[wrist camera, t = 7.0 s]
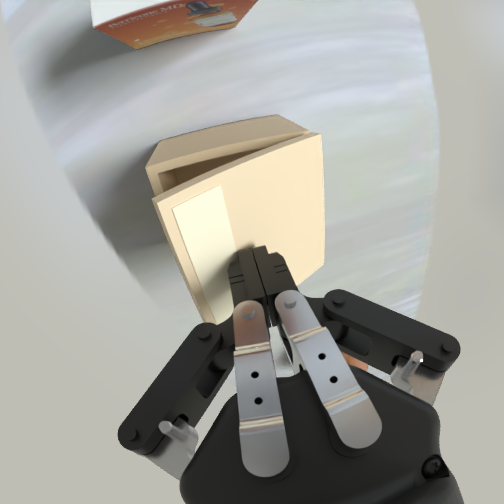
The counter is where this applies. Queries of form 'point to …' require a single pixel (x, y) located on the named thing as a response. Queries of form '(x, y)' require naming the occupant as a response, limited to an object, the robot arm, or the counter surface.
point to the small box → (164, 18)
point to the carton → (214, 148)
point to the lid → (247, 218)
